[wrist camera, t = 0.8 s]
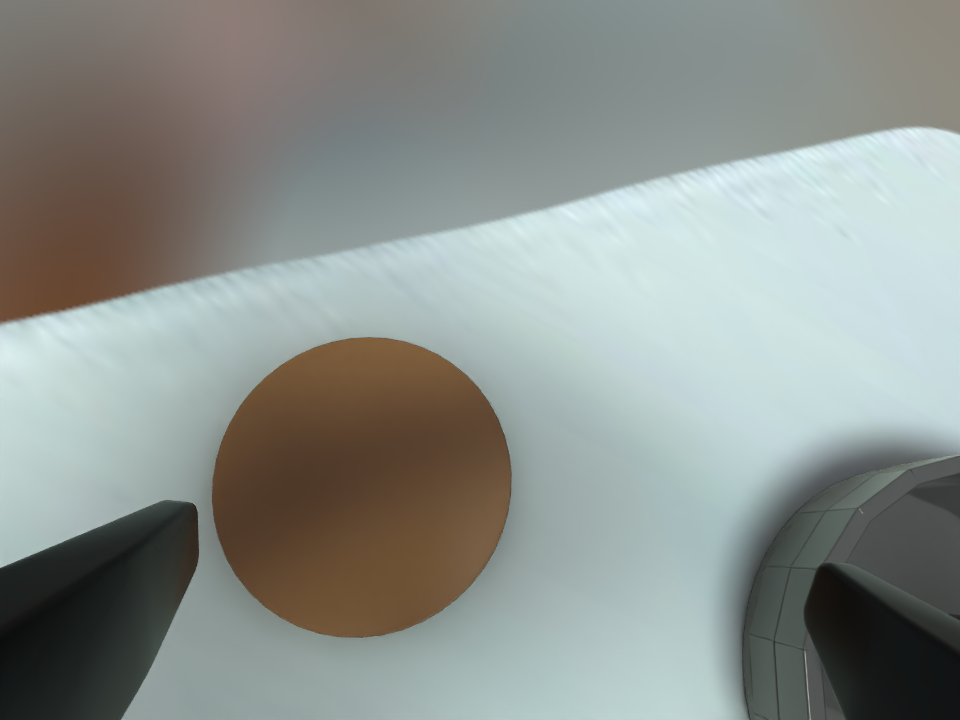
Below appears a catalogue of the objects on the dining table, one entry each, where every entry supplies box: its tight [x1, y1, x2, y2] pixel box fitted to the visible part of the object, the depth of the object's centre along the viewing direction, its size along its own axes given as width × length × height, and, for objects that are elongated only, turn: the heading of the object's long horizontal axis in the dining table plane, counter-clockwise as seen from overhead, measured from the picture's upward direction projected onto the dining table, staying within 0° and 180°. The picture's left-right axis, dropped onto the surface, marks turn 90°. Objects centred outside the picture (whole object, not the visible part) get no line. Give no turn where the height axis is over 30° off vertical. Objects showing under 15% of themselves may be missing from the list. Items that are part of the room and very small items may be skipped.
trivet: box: [212, 337, 511, 638], centre depth 23 cm, size 11×11×1 cm
